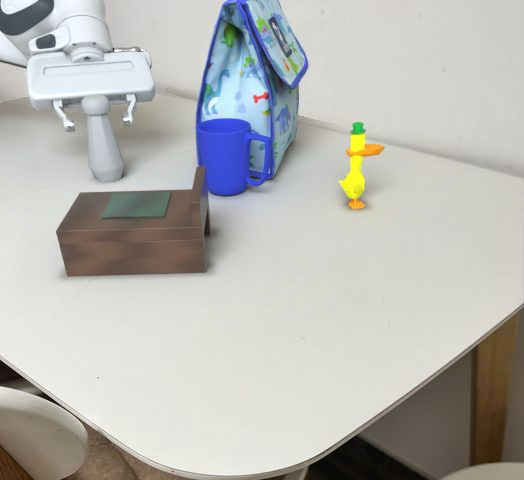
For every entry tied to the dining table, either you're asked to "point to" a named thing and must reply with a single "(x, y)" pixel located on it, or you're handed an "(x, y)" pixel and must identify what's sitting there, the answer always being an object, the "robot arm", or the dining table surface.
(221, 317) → the dining table surface
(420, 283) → the dining table surface
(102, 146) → the salt shaker
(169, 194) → the toy bed
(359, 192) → the toy figure
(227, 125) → the mug
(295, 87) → the lunch bag
